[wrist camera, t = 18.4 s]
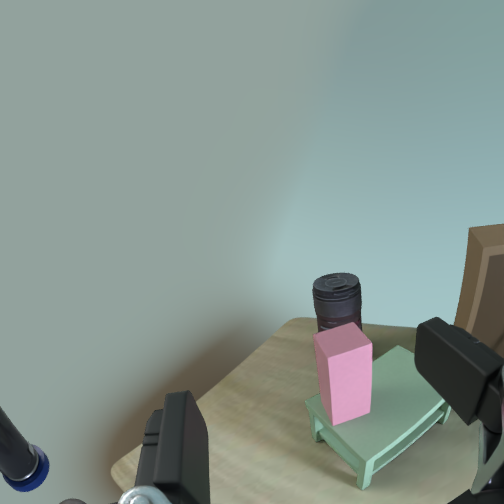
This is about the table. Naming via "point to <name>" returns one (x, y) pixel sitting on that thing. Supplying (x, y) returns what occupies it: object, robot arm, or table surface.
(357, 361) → the pink box
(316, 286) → the camera lens
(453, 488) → the table surface
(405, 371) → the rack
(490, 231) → the photo frame
